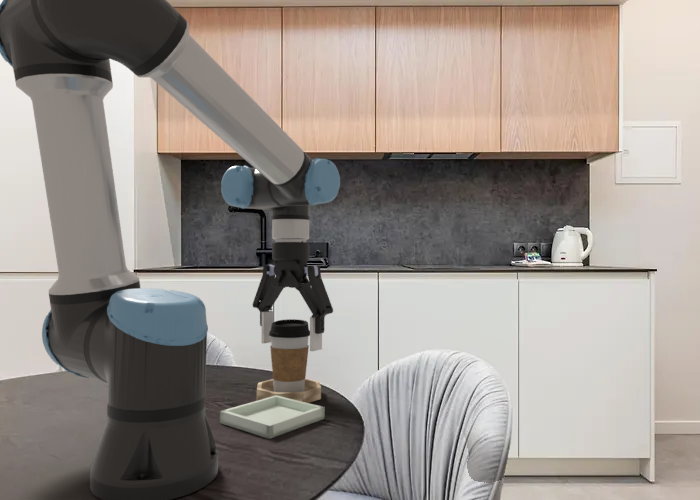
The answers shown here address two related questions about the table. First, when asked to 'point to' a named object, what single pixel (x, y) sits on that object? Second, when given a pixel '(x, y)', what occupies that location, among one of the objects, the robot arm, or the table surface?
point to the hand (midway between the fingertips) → (290, 346)
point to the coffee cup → (289, 354)
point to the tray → (272, 416)
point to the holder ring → (307, 396)
